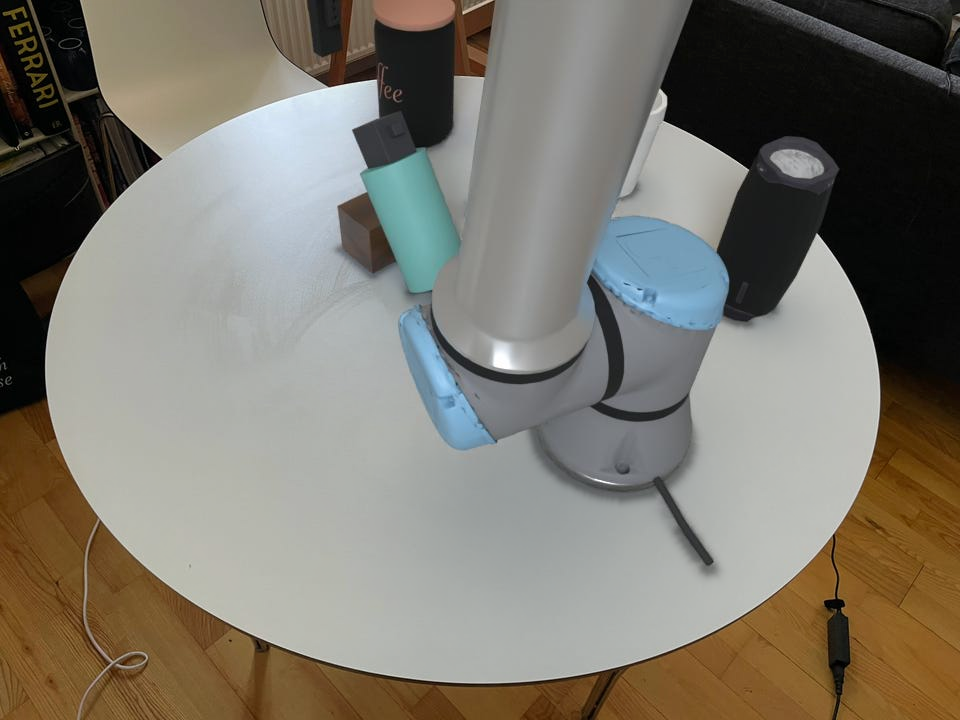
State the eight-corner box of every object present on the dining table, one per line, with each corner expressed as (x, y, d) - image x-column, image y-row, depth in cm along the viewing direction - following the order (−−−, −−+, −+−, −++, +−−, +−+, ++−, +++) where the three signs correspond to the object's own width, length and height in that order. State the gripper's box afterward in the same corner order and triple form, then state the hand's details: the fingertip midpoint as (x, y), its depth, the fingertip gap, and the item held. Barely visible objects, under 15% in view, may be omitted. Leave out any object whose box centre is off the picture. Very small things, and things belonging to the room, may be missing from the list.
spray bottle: (483, 289, 88) (483, 140, 74) (434, 319, 84) (424, 169, 71) (404, 234, 95) (390, 91, 82) (355, 260, 92) (332, 114, 78)
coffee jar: (376, 112, 113) (368, -11, 100) (447, 108, 115) (449, -14, 101) (383, 153, 106) (376, 26, 93) (458, 148, 108) (462, 22, 94)
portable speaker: (731, 264, 94) (787, 122, 79) (794, 307, 89) (865, 165, 74) (685, 292, 90) (735, 148, 75) (749, 339, 85) (814, 195, 71)
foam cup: (563, 180, 104) (576, 92, 94) (607, 156, 108) (624, 69, 99) (615, 213, 99) (634, 125, 90) (659, 187, 104) (682, 100, 94)
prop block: (424, 245, 93) (423, 203, 89) (372, 273, 90) (369, 231, 85) (393, 222, 96) (391, 179, 91) (342, 248, 92) (337, 205, 88)
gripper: (384, -214, 61) (395, 64, 79) (292, -247, 67) (321, 18, 85) (306, -201, 58) (336, 87, 75) (216, -237, 64) (263, 38, 81)
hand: (328, 50), depth 80 cm, fingers closed
